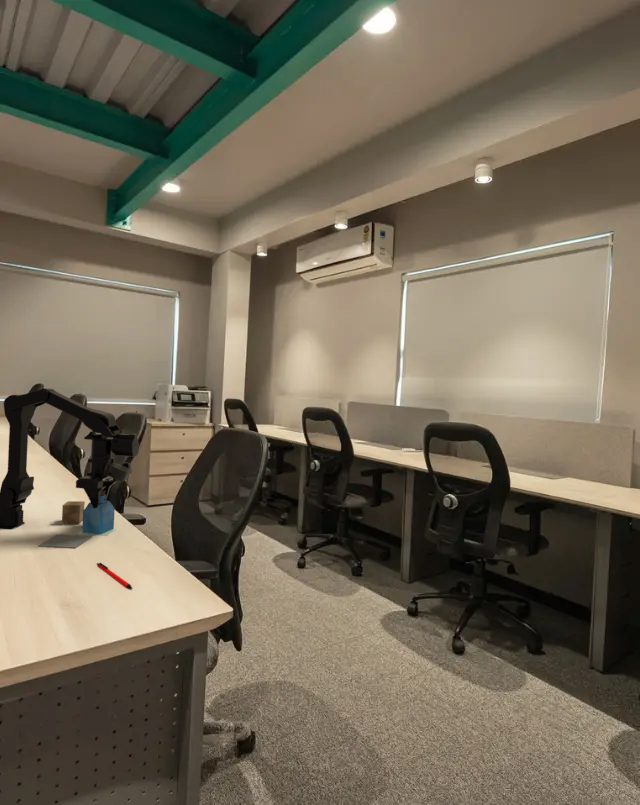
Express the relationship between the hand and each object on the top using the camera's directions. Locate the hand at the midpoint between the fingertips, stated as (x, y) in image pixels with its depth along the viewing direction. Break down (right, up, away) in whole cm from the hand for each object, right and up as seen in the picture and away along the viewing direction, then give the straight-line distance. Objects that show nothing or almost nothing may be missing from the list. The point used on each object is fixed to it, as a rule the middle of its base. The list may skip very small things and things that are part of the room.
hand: (99, 506), depth 147 cm
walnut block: (-11, -7, +7) cm, 15 cm away
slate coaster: (-4, -8, -11) cm, 14 cm away
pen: (+18, -10, -32) cm, 38 cm away
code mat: (0, -8, 0) cm, 8 cm away
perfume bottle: (0, -8, 0) cm, 8 cm away
